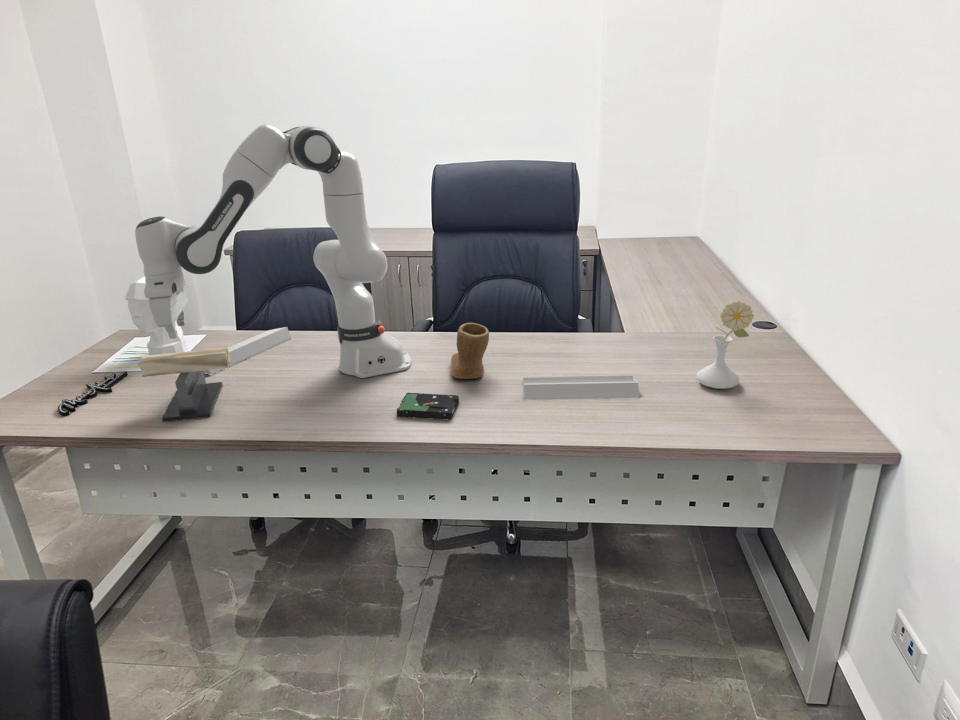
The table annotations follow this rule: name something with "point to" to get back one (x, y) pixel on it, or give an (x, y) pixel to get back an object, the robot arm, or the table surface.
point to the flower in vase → (719, 372)
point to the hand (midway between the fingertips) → (178, 331)
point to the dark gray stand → (192, 397)
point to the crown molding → (580, 387)
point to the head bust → (152, 322)
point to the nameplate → (91, 393)
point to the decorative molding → (255, 346)
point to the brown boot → (469, 351)
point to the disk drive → (428, 406)
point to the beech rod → (184, 362)
